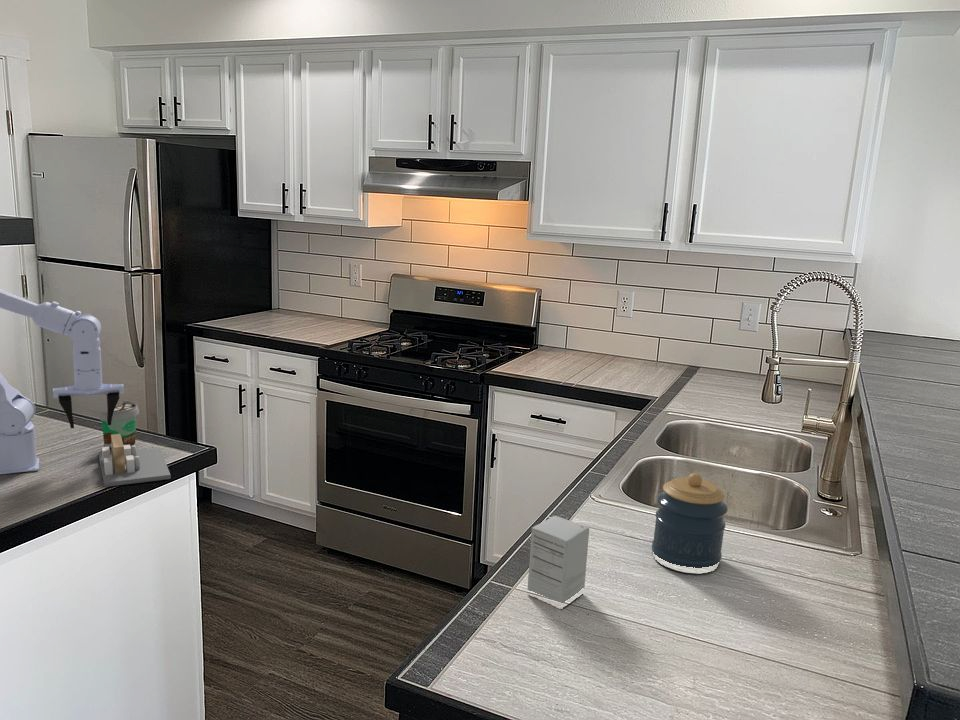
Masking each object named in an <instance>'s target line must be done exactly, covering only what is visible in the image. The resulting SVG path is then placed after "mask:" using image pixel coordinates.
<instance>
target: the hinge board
mask: <svg viewBox="0 0 960 720" xmlns="http://www.w3.org/2000/svg"><path fill="white" fill-rule="evenodd" d="M98 458H99V463H100V465H99V466H100V470H101V475H102V476H101V477H102V481H103V486H104V488H106V487H114V486H115V487H116V486H124V485H130V484H141V483H147V482H157V481H163V480H171V478H172V477H171V475H172V474H171V473H170V470H169V467H168V465H167V463H166V460H165V458H164V455H163V452H162V450H161V448H160V447H151V448H142V449H141V448H139V449H137V446H136V444H134V445H133V446H130V445H124V461H125V472H121V473H115V470H114V465H113V461H112V451H111V450H110V449H109V447H103V446H102V447H101V452H100V453H98Z"/></svg>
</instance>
